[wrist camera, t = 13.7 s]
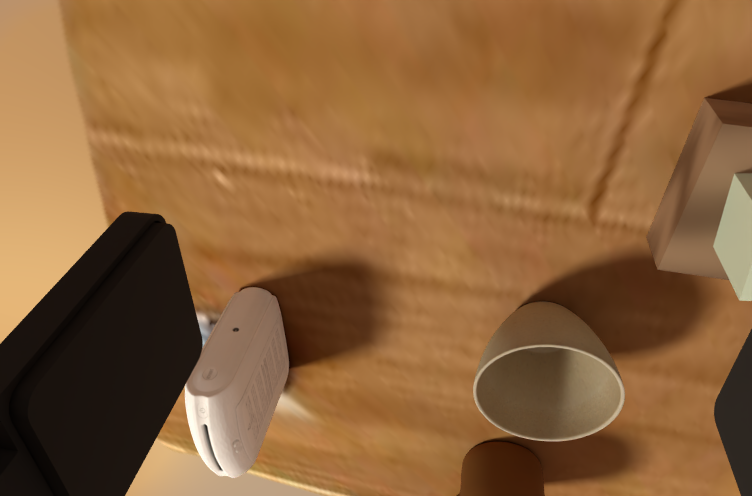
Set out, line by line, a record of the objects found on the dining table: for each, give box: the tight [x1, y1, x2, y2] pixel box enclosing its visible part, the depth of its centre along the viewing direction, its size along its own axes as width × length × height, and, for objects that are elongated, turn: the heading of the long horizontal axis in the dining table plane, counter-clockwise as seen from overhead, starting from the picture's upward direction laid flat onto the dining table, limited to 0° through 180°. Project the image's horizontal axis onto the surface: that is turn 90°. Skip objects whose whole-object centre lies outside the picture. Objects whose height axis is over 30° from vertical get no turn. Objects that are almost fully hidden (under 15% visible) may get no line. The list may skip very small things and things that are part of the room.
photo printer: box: [185, 287, 289, 478], centre depth 47 cm, size 10×4×12 cm, turn 2°
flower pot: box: [473, 302, 625, 441], centre depth 44 cm, size 10×10×7 cm
